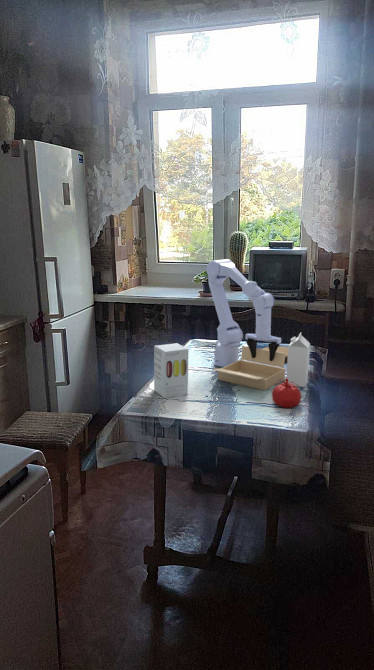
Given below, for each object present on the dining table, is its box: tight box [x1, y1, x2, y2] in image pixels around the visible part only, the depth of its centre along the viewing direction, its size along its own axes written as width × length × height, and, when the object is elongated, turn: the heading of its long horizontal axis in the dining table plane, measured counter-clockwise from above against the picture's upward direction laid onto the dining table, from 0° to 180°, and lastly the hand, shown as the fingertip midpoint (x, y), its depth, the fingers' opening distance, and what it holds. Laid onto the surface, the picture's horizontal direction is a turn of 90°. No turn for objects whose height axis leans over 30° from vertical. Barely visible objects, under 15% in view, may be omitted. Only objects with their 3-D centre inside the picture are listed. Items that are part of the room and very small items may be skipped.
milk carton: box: [286, 332, 311, 388], centre depth 189 cm, size 7×7×19 cm
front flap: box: [212, 367, 264, 380], centre depth 186 cm, size 19×6×1 cm, turn 54°
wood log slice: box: [262, 346, 288, 363], centre depth 225 cm, size 16×16×3 cm
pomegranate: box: [271, 377, 302, 409], centre depth 170 cm, size 10×10×9 cm
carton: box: [217, 359, 286, 391], centre depth 195 cm, size 20×17×4 cm
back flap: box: [240, 345, 285, 369], centre depth 201 cm, size 19×6×1 cm
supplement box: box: [153, 342, 189, 399], centre depth 179 cm, size 10×9×17 cm
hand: (262, 359), depth 199 cm, fingers open, 7 cm apart
